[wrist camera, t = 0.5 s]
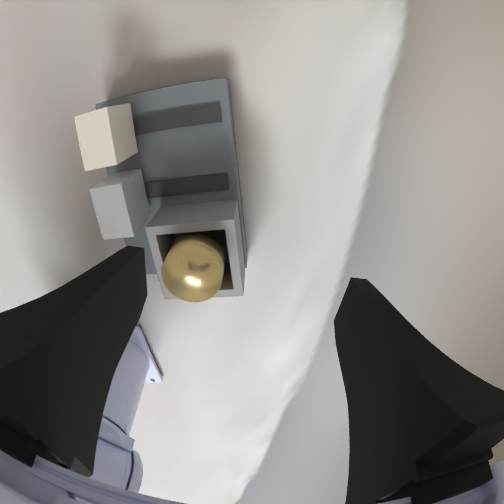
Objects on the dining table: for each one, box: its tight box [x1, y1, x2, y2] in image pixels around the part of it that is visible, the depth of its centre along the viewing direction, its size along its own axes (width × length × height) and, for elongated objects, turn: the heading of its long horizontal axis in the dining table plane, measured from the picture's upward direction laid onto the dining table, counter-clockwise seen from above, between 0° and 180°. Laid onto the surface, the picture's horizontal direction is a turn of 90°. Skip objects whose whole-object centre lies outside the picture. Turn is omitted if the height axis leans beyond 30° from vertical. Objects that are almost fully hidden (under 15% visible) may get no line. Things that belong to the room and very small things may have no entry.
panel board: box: [96, 78, 247, 299], centre depth 17 cm, size 8×12×4 cm, turn 5°
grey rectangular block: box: [89, 169, 151, 240], centre depth 16 cm, size 2×3×3 cm, turn 5°
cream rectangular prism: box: [74, 103, 138, 171], centre depth 14 cm, size 2×3×3 cm, turn 5°
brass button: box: [161, 230, 227, 302], centre depth 17 cm, size 3×3×3 cm
